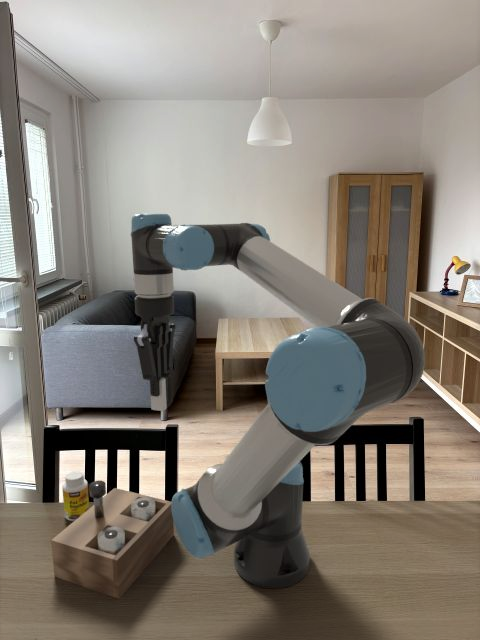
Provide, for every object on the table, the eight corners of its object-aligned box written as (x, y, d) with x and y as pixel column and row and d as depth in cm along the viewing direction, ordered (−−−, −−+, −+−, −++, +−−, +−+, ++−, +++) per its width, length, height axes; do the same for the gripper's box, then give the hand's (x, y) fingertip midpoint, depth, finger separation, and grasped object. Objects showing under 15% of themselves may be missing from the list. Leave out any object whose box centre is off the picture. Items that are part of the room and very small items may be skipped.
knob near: (131, 570, 100) (129, 529, 98) (116, 588, 95) (114, 544, 93) (110, 564, 101) (108, 523, 99) (94, 580, 97) (91, 538, 95)
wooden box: (173, 535, 111) (172, 502, 109) (119, 598, 92) (116, 560, 91) (116, 519, 116) (114, 487, 114) (54, 576, 98) (51, 540, 96)
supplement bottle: (68, 525, 114) (65, 484, 112) (61, 513, 119) (58, 473, 116) (92, 517, 117) (90, 476, 115) (85, 505, 122) (82, 466, 119)
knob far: (161, 538, 109) (159, 499, 108) (148, 552, 105) (146, 512, 103) (141, 532, 111) (139, 494, 109) (128, 546, 107) (126, 507, 105)
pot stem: (110, 513, 105) (108, 482, 103) (101, 521, 102) (98, 490, 101) (97, 509, 106) (95, 479, 105) (88, 518, 103) (85, 487, 102)
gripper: (153, 289, 106) (158, 396, 110) (118, 299, 94) (125, 418, 98) (186, 290, 103) (189, 400, 108) (155, 301, 91) (160, 423, 96)
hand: (158, 408), depth 103 cm, fingers closed
